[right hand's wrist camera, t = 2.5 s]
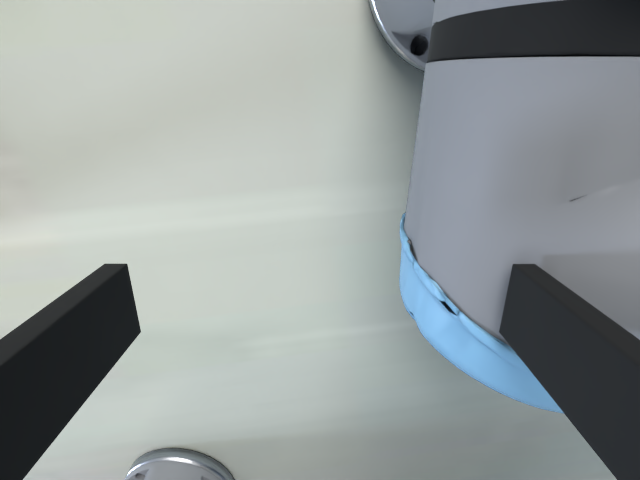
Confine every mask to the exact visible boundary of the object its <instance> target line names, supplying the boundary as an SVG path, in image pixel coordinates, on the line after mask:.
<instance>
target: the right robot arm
mask: <svg viewBox="0 0 640 480" xmlns="http://www.w3.org/2000/svg"><path fill="white" fill-rule="evenodd" d="M369 4H370V8H371V12H372V14H373V17H374V20H375V22H376V24H377V26H378V28H379V30H380V32H381V34H382V35H383V37H384V39H385V40H386V42H387V43H388V44H389V45H390V47H391V48H392V49H393V50H394V51H395V52H396V53H397V54H398V55H399V56H400V57H401V58H402V59H404V60H405V61H406V62H408V63H409V64H411V65H412V66H414V67H416V68H418V69H420V70H422V71H424V72H425V74H424V81H423V88H422V96H421V103H420V111H419V118H418V125H417V133H416V140H415V148H414V155H413V162H412V170H411V177H410V185H409V192H408V199H407V207H406V212H405V213H404V214H403V215H402V219H401V222H400V238H401V243H402V250H401V265H400V278H399V281H400V290H401V296H402V299H403V302H404V305H405V307H406V310H407V311H408V313H409V314H410V316H411V317H412V318H413V319H414V320H415V321H416V322H417V326H418V328H419V330H420V332H421V333H422V335H423V336H424V337H425V338H426V339H427V341H428V342H429V343H430V344H431V345H432V346H433V347H434V348H435V349H436V350H437V351H438V352H439V353H440V354H441V355H443V356H444V357H445V358H446V359H447V360H448V361H450V362H451V363H452V364H453V365H455V366H456V367H457V368H459V369H460V370H462V371H463V372H465V373H466V374H467V375H469V376H471V377H472V378H474V379H476V380H477V381H479V382H481V383H482V384H484V385H486V386H487V387H489V388H491V389H493V390H495V391H497V392H499V393H501V394H503V395H506V396H508V397H510V398H512V399H515V400H517V401H520V402H522V403H525V404H528V405H531V406H534V407H537V408H541V409H545V410H549V411H554V412H559V413H564V414H565V415H566V416H567V417H568V419H569V420H570V421H571V422H572V424H573V425H574V426H575V427H576V429H577V430H578V431H579V432H580V434H581V435H582V436H583V437H584V439H585V440H586V441H587V442H588V444H589V445H590V446H591V447H592V449H593V450H594V451H595V452H596V454H597V455H598V456H599V457H600V459H601V460H602V461H603V462H604V464H605V465H606V466H607V467H608V469H609V470H610V471H611V472H612V474H613V475H614V476H615V477H616V479H617V480H640V0H369ZM140 332H141V330H140V325H139V320H138V315H137V310H136V305H135V301H134V296H133V291H132V286H131V281H130V276H129V271H128V266H127V264H104V265H103V266H101V267H100V268H98V269H97V270H96V271H94V272H93V273H92V274H90V275H89V276H87V277H86V278H85V279H83V280H82V281H80V282H79V283H78V284H76V285H75V286H74V287H72V288H71V289H69V290H68V291H67V292H65V293H64V294H63V295H61V296H60V297H58V298H57V299H56V300H54V301H53V302H52V303H50V304H49V305H47V306H46V307H45V308H43V309H42V310H40V311H39V312H38V313H36V314H35V315H34V316H32V317H31V318H29V319H28V320H27V321H25V322H24V323H23V324H21V325H20V326H18V327H17V328H16V329H14V330H13V331H11V332H10V333H9V334H7V335H6V336H5V337H3V338H2V339H0V480H23V478H24V477H25V476H26V475H27V473H28V472H29V471H30V470H31V468H32V467H33V466H34V465H35V463H36V462H37V461H38V460H39V458H40V457H41V456H42V455H43V453H44V452H45V451H46V450H47V448H48V447H49V446H50V445H51V443H52V442H53V441H54V440H55V438H56V437H57V436H58V435H59V433H60V432H61V431H62V430H63V428H64V427H65V426H66V425H67V423H68V422H69V421H70V420H71V418H72V417H73V416H74V415H75V413H76V412H77V411H78V410H79V408H80V407H81V406H82V405H83V403H84V402H85V401H86V400H87V398H88V397H89V396H90V395H91V394H92V392H93V391H94V390H95V389H96V387H97V386H98V385H99V384H100V382H101V381H102V380H103V379H104V377H105V376H106V375H107V374H108V372H109V371H110V370H111V369H112V367H113V366H114V365H115V364H116V362H117V361H118V360H119V359H120V357H121V356H122V355H123V354H124V352H125V351H126V350H127V349H128V347H129V346H130V345H131V344H132V342H133V341H134V340H135V339H136V337H137V336H138V335H139V334H140Z"/></svg>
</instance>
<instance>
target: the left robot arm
mask: <svg viewBox="0 0 640 480" xmlns="http://www.w3.org/2000/svg"><path fill="white" fill-rule="evenodd" d="M125 480H234V479H233V477H232V476H231V474H230V473H229V471H228V470H227V469H226V468H225V467H224V466H223V465H221V464H220V463H219V462H217V461H216V460H214V459H212V458H211V457H209V456H206V455H204V454H202V453H199V452H195V451H192V450H187V449H179V448H166V449H158V450H154V451H151V452H148V453H146V454H144V455H142V456H141V457H139V458H138V459H137V460H136V461H135V462H134V463H133V465H132V466H131V468H130V470H129V472H128V474H127V476H126V478H125Z"/></svg>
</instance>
